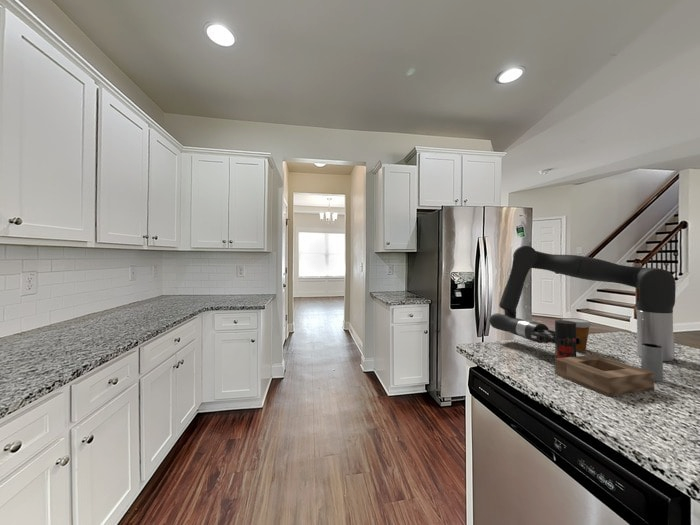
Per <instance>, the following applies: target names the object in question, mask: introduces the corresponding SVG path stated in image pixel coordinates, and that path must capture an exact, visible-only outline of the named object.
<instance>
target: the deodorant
mask: <svg viewBox="0 0 700 525" xmlns="http://www.w3.org/2000/svg"><path fill="white" fill-rule="evenodd" d="M554 331H555V337H557V338H561V339H564V340H565V346H561V345H558V344H555V343H554V350H555V351H554V352H555V354H554V356H555V357H554V360H555V359H556V358H566V357H576V356H577V351H576V323H575V322H572V321H565V320H563V319H560V320H559V319H557V320H554Z"/></svg>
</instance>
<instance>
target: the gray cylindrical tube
mask: <svg viewBox="0 0 700 525" xmlns="http://www.w3.org/2000/svg"><path fill="white" fill-rule="evenodd" d="M640 358H641V369H644V370H647V371H650V372H654V382H656V383H657V382H663V381H664V361H663V347H662V346H660V345H655V344H648V343H643V344H641V356H640Z"/></svg>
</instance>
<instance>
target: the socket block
mask: <svg viewBox="0 0 700 525" xmlns="http://www.w3.org/2000/svg"><path fill="white" fill-rule="evenodd" d="M554 374H555V375H556V374H557V376H558V377H561V378H563V379H566V380H568V381H570V382H572V383H573V382H574V383H575V384H578V385H581V386H583V387H584V388H588V389H590V390H592V391H594V392H597V393H599V394H602V395H603V396H606V397H608V398H609V397H610V396H611V397H616V396H617V395H618V396H623V395H624V394H625V395H631V394H637V393H644V392H645V393H646V392H652V391H655V381H654V372H650V371H647V370H644V369H642V368H640V367H637V366H634V365H630V364H626V363H624V362H620V361H616V360H613V359H611V358H607V357H603V356H602V355H601V356H600V355H598V354H586V355H578V356H577V355H576V357H566V358H556V359H555V358H554Z"/></svg>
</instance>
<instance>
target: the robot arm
mask: <svg viewBox="0 0 700 525" xmlns="http://www.w3.org/2000/svg"><path fill="white" fill-rule="evenodd" d="M512 259H513V260H512V267H511V269H510V270H511V271H510V272H509V273H510V274H509V278H508V280H507V283H506V285H505V287H504V289H503V292H502V295H501V298H500V301H499V303H498V304H499V308H500V309H502V310H503V311H504V314H502V313H493V314H492V315H490V317H489V323H490V324H489V325H490V326H491V327H492V328H493V329H495V330H500V331H504V332H506V333H507V332H508V333H510V334H512V335H516V336H519V337H521V338H523V339H524V340H525V339H526V340H528V341H532V342H535V343H538V344H542V343H543V344H552V345H553V344H554V345H555V344H558V345H561V346H565V340H564V339H561V338H557V337H555V329H549V327H548V326H547V325H546V324H544V323H540V322H536V321H533V320H528V319H527V320H526V319H521V318H518V317H517V308H518V305H519V302H520V299H521V297H522V293H523V288H524V284H525V282H526V278H527V275H528V274H529V271H530V270H531V269H538V270H543V271H549V272H554V273H557V274H559V275H562V276H563V275H564V276H568V277H571V278H576V279H577V278H578V279H582V280H587V281H594V282H603V283H605V282H606V283H615V284H619V285H624V286H627V287H632V288H636V289H637V290H638V289H639V290H638V301H637V303H636V329H637V330H636V340H637V342H636V343H637V344H636V351H637V352H636V353H637V354H636V355H637V356H639V357H641V344H643V343H648V344H655V345H660V346H662V347H663V362H673V361H674V360H675V333H674V307H675V305H676V304H675V303H676V290H677V289H676V286H677V285H676V284H677V283H676V279H675V276H674V275H673V274H672V273H671V272H670V271H669V270H666V269H663V268H657V267H640V266H630V265H622V264H617V263H615V262H611V261H607V260H605V259H604V260H603V259H599V258H595V257H592V256H591V257H589V256H584V255H577V254H576V255H575V254H555V253H554V254H552V253H545V252H542V251H539V250H538V251H537V250H536V249H535V248H534V247H532V246H529V245H521V246H518V247H517V248H516V249H515V250H514V251H513V254H512ZM576 344H578V345H579V344H581V339H580V338H577V337H576Z"/></svg>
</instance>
